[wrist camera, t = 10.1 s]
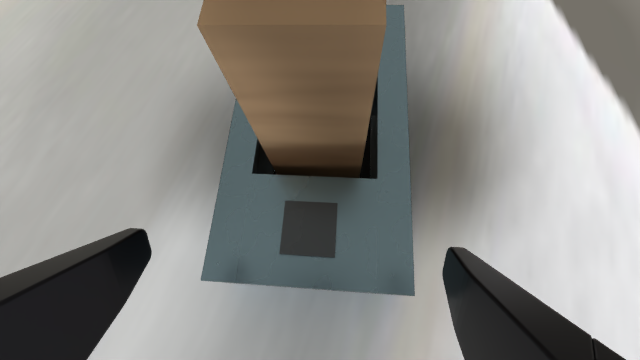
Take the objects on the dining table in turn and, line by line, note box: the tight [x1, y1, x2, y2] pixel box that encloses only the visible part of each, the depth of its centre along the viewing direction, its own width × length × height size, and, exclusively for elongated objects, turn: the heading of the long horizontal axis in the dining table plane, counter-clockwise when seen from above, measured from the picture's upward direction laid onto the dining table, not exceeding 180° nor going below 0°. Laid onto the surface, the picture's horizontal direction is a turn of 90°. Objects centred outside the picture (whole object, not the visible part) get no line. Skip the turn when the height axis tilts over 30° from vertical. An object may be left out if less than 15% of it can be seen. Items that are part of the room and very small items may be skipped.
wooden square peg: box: [197, 0, 386, 178], centre depth 13 cm, size 4×4×12 cm
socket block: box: [201, 5, 415, 296], centre depth 17 cm, size 16×9×4 cm, turn 176°
